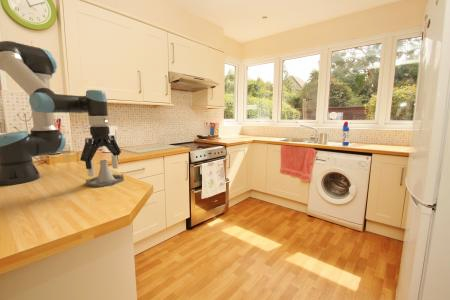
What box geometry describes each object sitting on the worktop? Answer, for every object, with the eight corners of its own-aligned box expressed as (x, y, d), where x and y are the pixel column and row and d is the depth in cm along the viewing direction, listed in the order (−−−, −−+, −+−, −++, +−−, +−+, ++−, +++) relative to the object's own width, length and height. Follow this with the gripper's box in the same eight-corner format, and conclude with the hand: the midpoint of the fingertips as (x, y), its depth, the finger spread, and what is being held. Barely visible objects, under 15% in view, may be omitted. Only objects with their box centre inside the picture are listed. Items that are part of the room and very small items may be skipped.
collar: (78, 185, 93) (77, 180, 93) (105, 176, 108) (105, 171, 107) (105, 187, 89) (105, 182, 89) (130, 177, 104) (130, 173, 103)
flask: (117, 179, 101) (115, 159, 100) (106, 184, 94) (104, 162, 93) (104, 179, 103) (102, 158, 101) (92, 183, 96) (90, 162, 94)
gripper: (80, 127, 82) (86, 180, 85) (126, 124, 105) (129, 166, 109) (65, 127, 84) (72, 179, 87) (114, 124, 107) (117, 165, 111)
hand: (104, 171), depth 98 cm, fingers open, 13 cm apart
